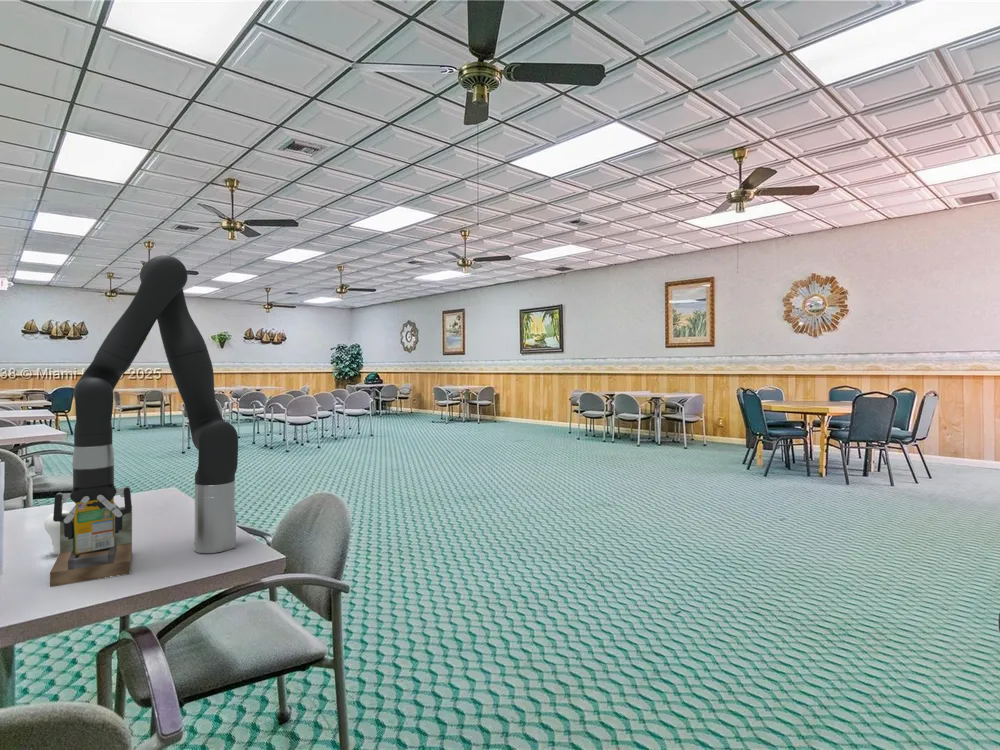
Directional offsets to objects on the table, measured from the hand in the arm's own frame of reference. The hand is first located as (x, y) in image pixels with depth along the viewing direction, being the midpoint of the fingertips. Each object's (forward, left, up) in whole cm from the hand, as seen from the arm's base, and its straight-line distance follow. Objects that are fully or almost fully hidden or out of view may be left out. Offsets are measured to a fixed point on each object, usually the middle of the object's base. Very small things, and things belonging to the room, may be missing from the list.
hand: (94, 535), depth 124 cm
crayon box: (0, 0, -3) cm, 3 cm away
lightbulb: (+8, -18, -8) cm, 21 cm away
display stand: (0, -2, -8) cm, 8 cm away
